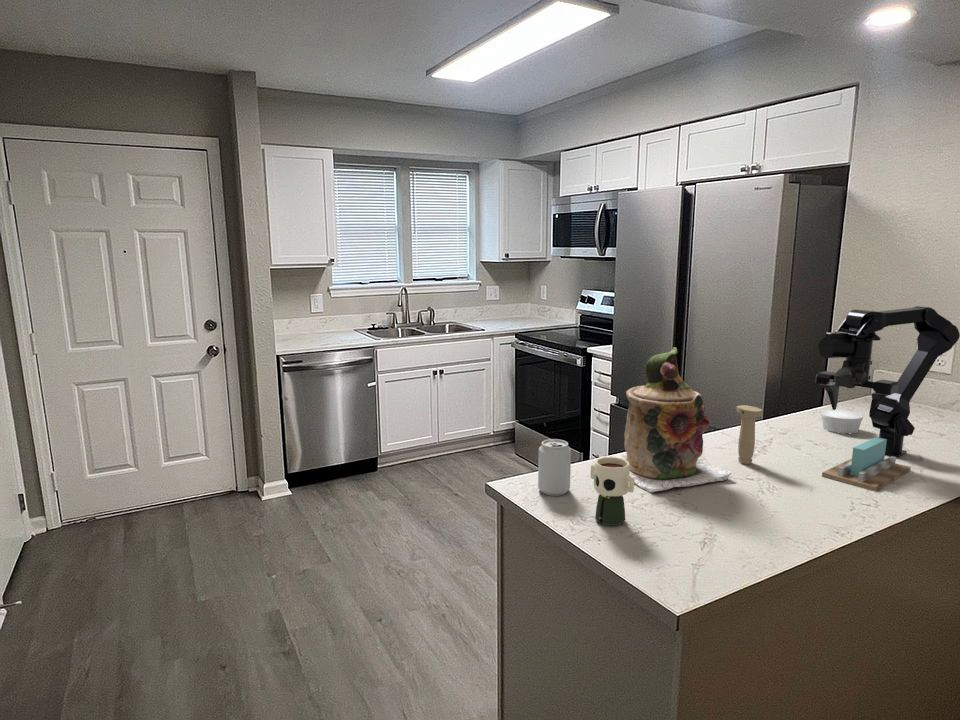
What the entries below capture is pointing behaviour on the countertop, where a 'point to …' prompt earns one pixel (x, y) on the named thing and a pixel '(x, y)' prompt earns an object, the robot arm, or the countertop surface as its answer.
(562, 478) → the can
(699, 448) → the cookie jar
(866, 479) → the track
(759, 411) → the handle
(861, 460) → the door panel
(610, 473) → the character mug
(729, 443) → the countertop surface
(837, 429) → the ramekin
